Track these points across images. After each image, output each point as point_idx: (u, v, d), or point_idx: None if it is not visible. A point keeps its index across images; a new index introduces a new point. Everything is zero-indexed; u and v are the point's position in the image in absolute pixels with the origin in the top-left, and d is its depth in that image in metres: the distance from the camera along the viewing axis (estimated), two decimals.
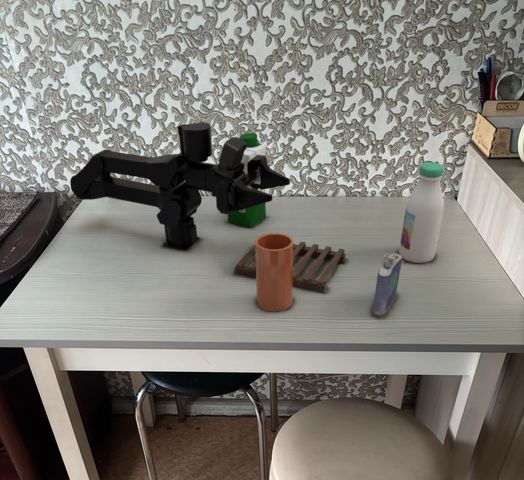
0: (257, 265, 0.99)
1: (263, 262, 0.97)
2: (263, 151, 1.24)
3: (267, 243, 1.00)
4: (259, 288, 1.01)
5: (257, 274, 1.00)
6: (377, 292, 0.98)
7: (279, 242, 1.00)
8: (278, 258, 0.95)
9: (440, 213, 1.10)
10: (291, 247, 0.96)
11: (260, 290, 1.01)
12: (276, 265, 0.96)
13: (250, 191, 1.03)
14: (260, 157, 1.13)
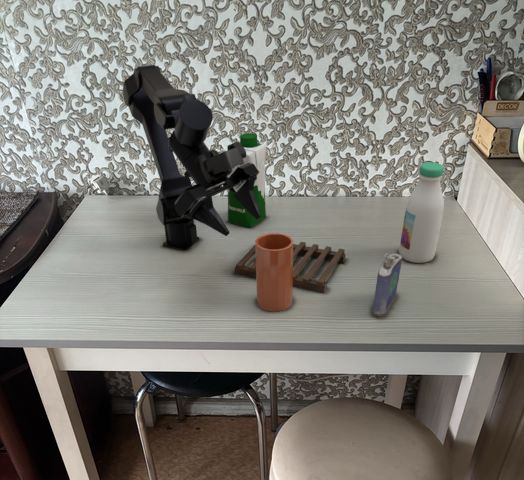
0: (257, 265, 0.99)
1: (263, 262, 0.97)
2: (263, 151, 1.24)
3: (267, 243, 1.00)
4: (259, 288, 1.01)
5: (257, 274, 1.00)
6: (377, 292, 0.98)
7: (279, 242, 1.00)
8: (278, 258, 0.95)
9: (440, 213, 1.10)
10: (291, 247, 0.96)
11: (260, 290, 1.01)
12: (276, 265, 0.96)
13: (213, 215, 0.96)
14: (253, 171, 1.03)
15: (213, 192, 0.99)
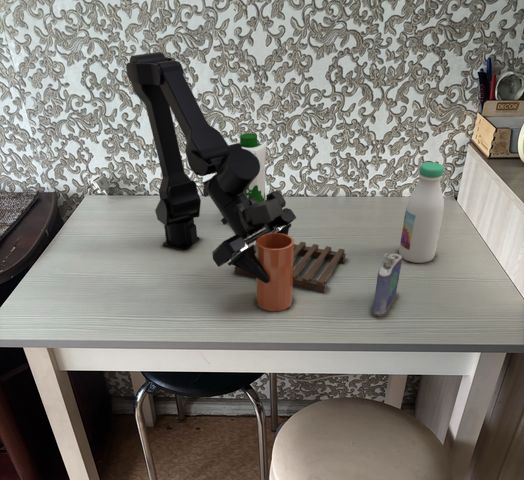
0: None
1: (263, 261, 0.97)
2: (263, 151, 1.24)
3: (268, 243, 1.00)
4: (259, 287, 1.01)
5: None
6: (377, 292, 0.98)
7: (280, 242, 1.00)
8: (278, 257, 0.95)
9: (440, 213, 1.10)
10: (292, 247, 0.96)
11: (260, 289, 1.01)
12: (276, 264, 0.96)
13: (254, 264, 0.96)
14: (290, 217, 1.02)
15: (251, 240, 0.98)
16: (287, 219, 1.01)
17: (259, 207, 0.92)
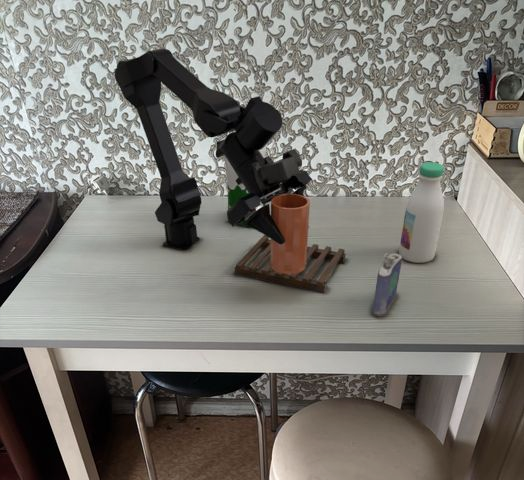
0: None
1: (278, 221, 0.95)
2: (263, 151, 1.24)
3: (283, 204, 0.99)
4: (273, 249, 1.00)
5: None
6: (377, 292, 0.98)
7: (295, 203, 0.99)
8: (294, 217, 0.94)
9: (440, 213, 1.10)
10: (307, 207, 0.95)
11: (274, 251, 1.00)
12: (292, 225, 0.95)
13: (269, 224, 0.95)
14: (305, 179, 1.00)
15: (266, 201, 0.97)
16: (302, 180, 1.00)
17: (275, 164, 0.91)
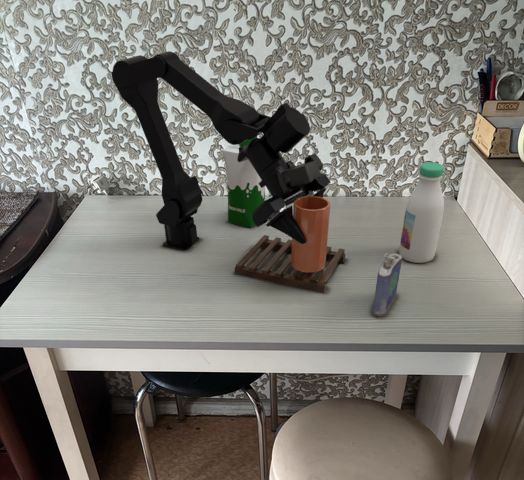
0: None
1: (301, 222, 1.00)
2: None
3: (304, 205, 1.04)
4: (295, 249, 1.05)
5: None
6: (377, 292, 0.98)
7: (315, 205, 1.04)
8: (316, 218, 0.99)
9: (440, 213, 1.10)
10: (328, 208, 1.00)
11: (296, 251, 1.05)
12: (313, 225, 1.00)
13: (292, 224, 1.00)
14: (325, 181, 1.05)
15: (288, 202, 1.02)
16: (322, 183, 1.05)
17: (299, 168, 0.96)
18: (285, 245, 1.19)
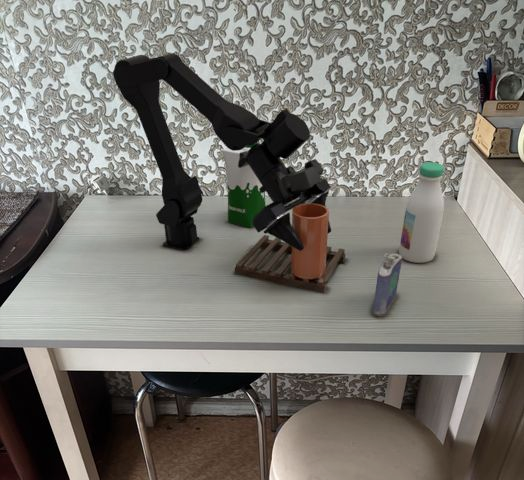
0: None
1: (300, 230, 1.01)
2: None
3: (303, 213, 1.05)
4: (295, 256, 1.06)
5: None
6: (377, 292, 0.98)
7: (314, 212, 1.05)
8: (315, 226, 1.00)
9: (440, 213, 1.10)
10: (327, 215, 1.01)
11: (295, 258, 1.06)
12: (312, 233, 1.01)
13: (290, 231, 1.00)
14: (325, 186, 1.06)
15: (288, 208, 1.02)
16: (322, 188, 1.05)
17: (299, 174, 0.96)
18: (285, 245, 1.19)
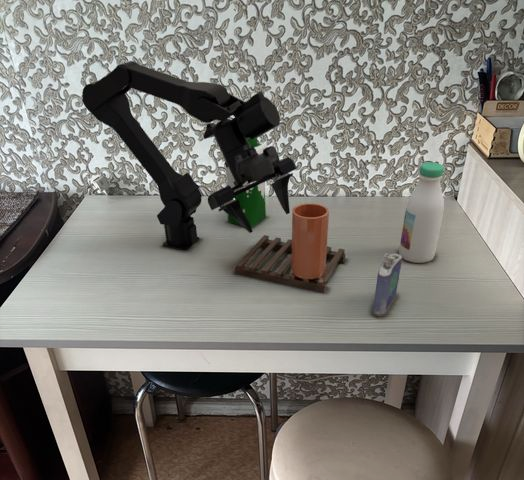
0: (293, 233, 1.03)
1: (300, 230, 1.01)
2: None
3: (303, 213, 1.05)
4: (295, 256, 1.06)
5: (293, 242, 1.04)
6: (377, 292, 0.98)
7: (314, 212, 1.05)
8: (315, 226, 1.00)
9: (440, 213, 1.10)
10: (327, 215, 1.01)
11: (295, 258, 1.06)
12: (312, 233, 1.01)
13: (239, 216, 1.06)
14: (289, 168, 1.07)
15: (245, 189, 1.07)
16: (285, 171, 1.07)
17: (248, 166, 1.00)
18: (285, 245, 1.19)
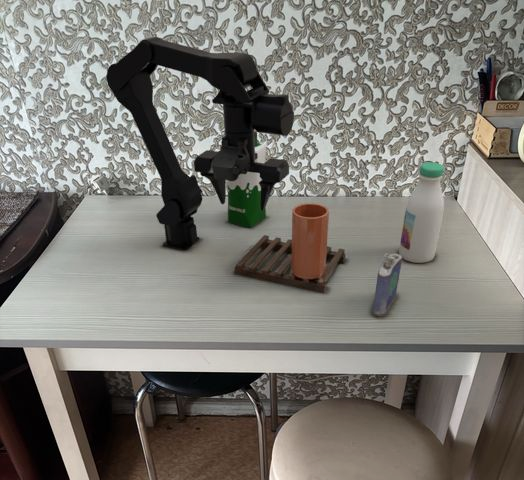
0: (293, 233, 1.03)
1: (300, 230, 1.01)
2: (263, 151, 1.24)
3: (303, 213, 1.05)
4: (295, 256, 1.06)
5: (293, 242, 1.04)
6: (377, 292, 0.98)
7: (314, 212, 1.05)
8: (315, 226, 1.00)
9: (440, 213, 1.10)
10: (327, 215, 1.01)
11: (295, 258, 1.06)
12: (312, 233, 1.01)
13: (213, 186, 1.11)
14: (269, 179, 1.02)
15: None
16: (264, 179, 1.03)
17: None
18: (285, 245, 1.19)
